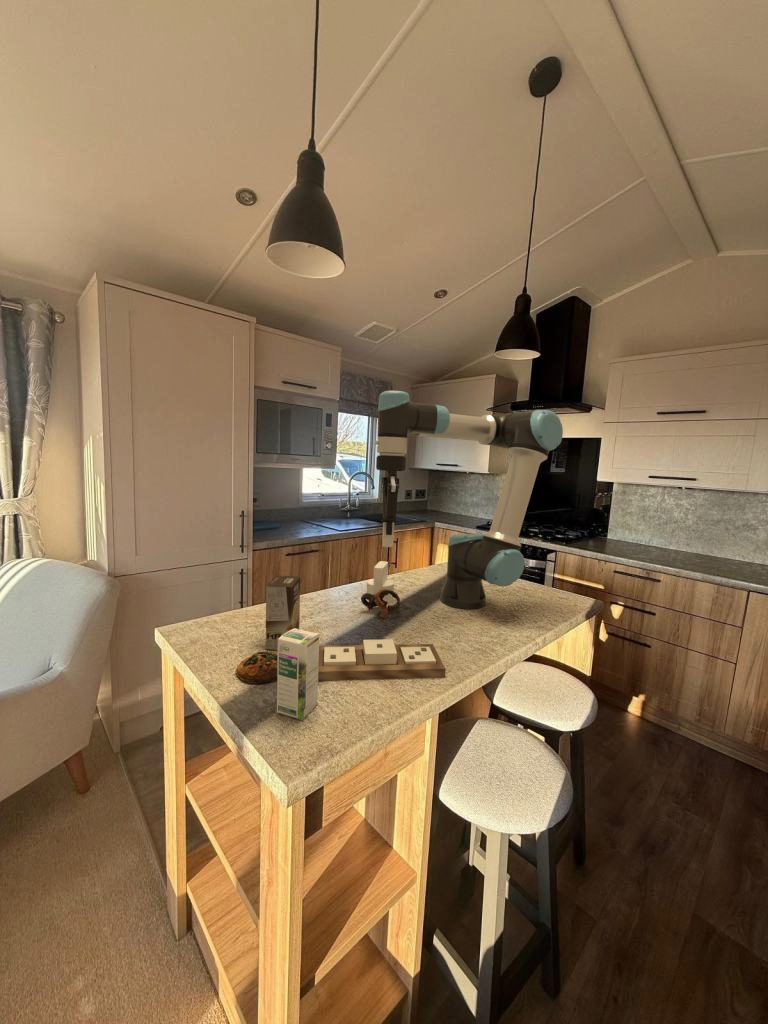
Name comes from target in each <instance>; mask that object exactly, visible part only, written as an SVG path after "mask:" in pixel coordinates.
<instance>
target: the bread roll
mask: <svg viewBox="0 0 768 1024" xmlns="http://www.w3.org/2000/svg"><path fill="white" fill-rule="evenodd" d="M277 658H278V652H275V651H273V650H272V651H269V650H263V651H257V652H256V653H253V654H252V655H250V656H247V657H245V658H244V659H243V660H242V661H240V662H239V664H238V665H237V667H236V669H235V674H236V675H237V677H238V679H240V680H242V681H243V682H244V683H249V684H259V683H260V684H259V685H261V684H268V683H267V682H269V683H273V682H275V680H276V681H277V671H278V659H277Z"/></svg>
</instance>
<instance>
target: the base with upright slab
mask: <svg viewBox="0 0 768 1024" xmlns="http://www.w3.org/2000/svg"><path fill="white" fill-rule="evenodd" d="M388 573H389V561H383V560H381V561H380V560H379V561H378V562H377V563H376V564H375V566H374V567H373V578H370V579H368V580H367V581H366V593H370V594H372V595H374V594H376V593H378V592H379V591H380V590H384V589H388V590H391V591H394V592H395V590H394V589H395V581H393V580H391V579H389V578H388V576H389V575H388ZM366 600H367V602H369V600H368V599H366ZM383 600H384V601H387V602H388V604H391V603H393V602H394V597H392V595H391V594H388V595H386V596H384V598H383Z"/></svg>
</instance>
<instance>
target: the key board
mask: <svg viewBox="0 0 768 1024" xmlns="http://www.w3.org/2000/svg"><path fill="white" fill-rule="evenodd" d="M394 645H395V649H396V652H397V664H374V665H365V662H364V654H363V644H347V645H344V644H342V645H337V644H336V645H334V644H333V645H319V667H318V682H319V681H348V680H349V681H351V680H357V681H358V680H390V679H391V680H392V679H426V678H427V679H429V678H446V667H445V665H444V663H443V661H442V659H441V657H440V655H439V653H438V651H437V649H436V647H435V646H434V644H433V643H416V644H415V643H411V644H409V643H407V644H406V643H405V644H402V643H401V644H394ZM325 647H355V656H356V666H324V648H325ZM401 647H430V649H431V651H432V653H433V655H434V657H435V660H436V664H405V665H404V662H403V659H402V656H401V653H400V648H401Z"/></svg>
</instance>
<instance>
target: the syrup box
mask: <svg viewBox="0 0 768 1024" xmlns="http://www.w3.org/2000/svg"><path fill="white" fill-rule="evenodd" d="M319 646H320V633H319V632H312V631H307V630H303V629H300V628H299V629H296V628H294V629H292V630H290V631H288V632H286V633H285V634H283V635H282V636H281V637H280V638H278V650H277V653H278V658H277V659H278V671H277V680H276V681H277V682H276V683H277V686H276V687H277V688H276V689H277V690H276V691H277V692H276V693H277V694H276V696H277V697H276V713H277V714H282V715H284V716H288V717H292V718H294V719H297V720H300V721H303V720H304V719H305V718H306V717H307V716H308V715H309V714H311V712H312V711H313V710H314V708H315V707H316V706H317V705H318V702H319V701H318V698H319V694H318V693H319V681H318V667H319Z"/></svg>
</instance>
